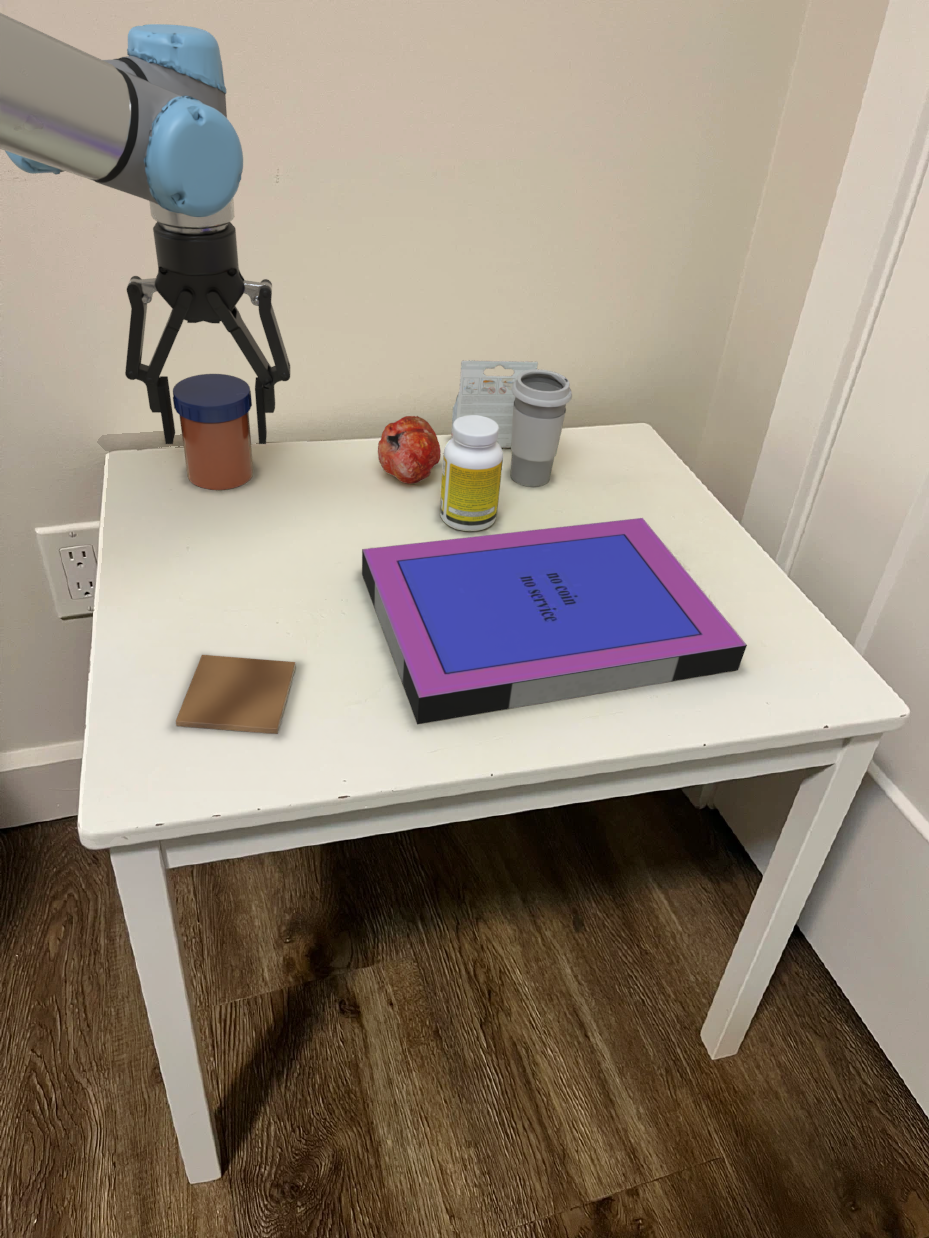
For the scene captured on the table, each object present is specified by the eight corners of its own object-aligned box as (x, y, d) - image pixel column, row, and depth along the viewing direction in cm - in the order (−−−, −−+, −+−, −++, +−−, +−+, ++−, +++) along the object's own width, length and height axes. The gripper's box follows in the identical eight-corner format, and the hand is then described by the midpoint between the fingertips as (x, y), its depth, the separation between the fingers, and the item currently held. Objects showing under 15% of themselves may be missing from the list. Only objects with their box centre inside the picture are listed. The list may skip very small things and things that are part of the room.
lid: (165, 419, 94) (162, 402, 93) (186, 387, 100) (184, 370, 99) (242, 426, 94) (241, 409, 93) (258, 393, 100) (257, 376, 99)
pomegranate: (400, 472, 110) (346, 444, 102) (436, 422, 108) (384, 390, 100) (435, 506, 106) (381, 480, 98) (473, 455, 104) (422, 424, 96)
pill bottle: (507, 524, 98) (519, 431, 92) (460, 539, 96) (468, 444, 89) (474, 497, 102) (483, 406, 95) (428, 511, 99) (433, 418, 92)
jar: (179, 487, 99) (168, 406, 93) (196, 455, 105) (187, 376, 99) (245, 492, 100) (238, 411, 94) (259, 460, 105) (253, 382, 99)
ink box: (449, 439, 113) (456, 350, 105) (523, 439, 114) (534, 351, 107) (452, 450, 110) (459, 360, 103) (527, 450, 112) (539, 361, 105)
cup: (566, 491, 105) (582, 394, 97) (510, 494, 103) (523, 395, 96) (547, 460, 110) (562, 366, 103) (494, 463, 109) (505, 367, 101)
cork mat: (176, 726, 72) (175, 720, 72) (202, 659, 78) (201, 654, 78) (277, 734, 72) (277, 728, 72) (295, 667, 78) (295, 661, 78)
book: (362, 549, 88) (642, 517, 96) (361, 574, 89) (637, 541, 98) (418, 697, 72) (746, 645, 80) (417, 724, 74) (738, 670, 82)
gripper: (63, 230, 81) (106, 455, 95) (312, 238, 84) (318, 454, 98) (78, 206, 87) (117, 422, 101) (311, 215, 90) (317, 422, 104)
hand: (217, 438), depth 100 cm, fingers open, 9 cm apart
